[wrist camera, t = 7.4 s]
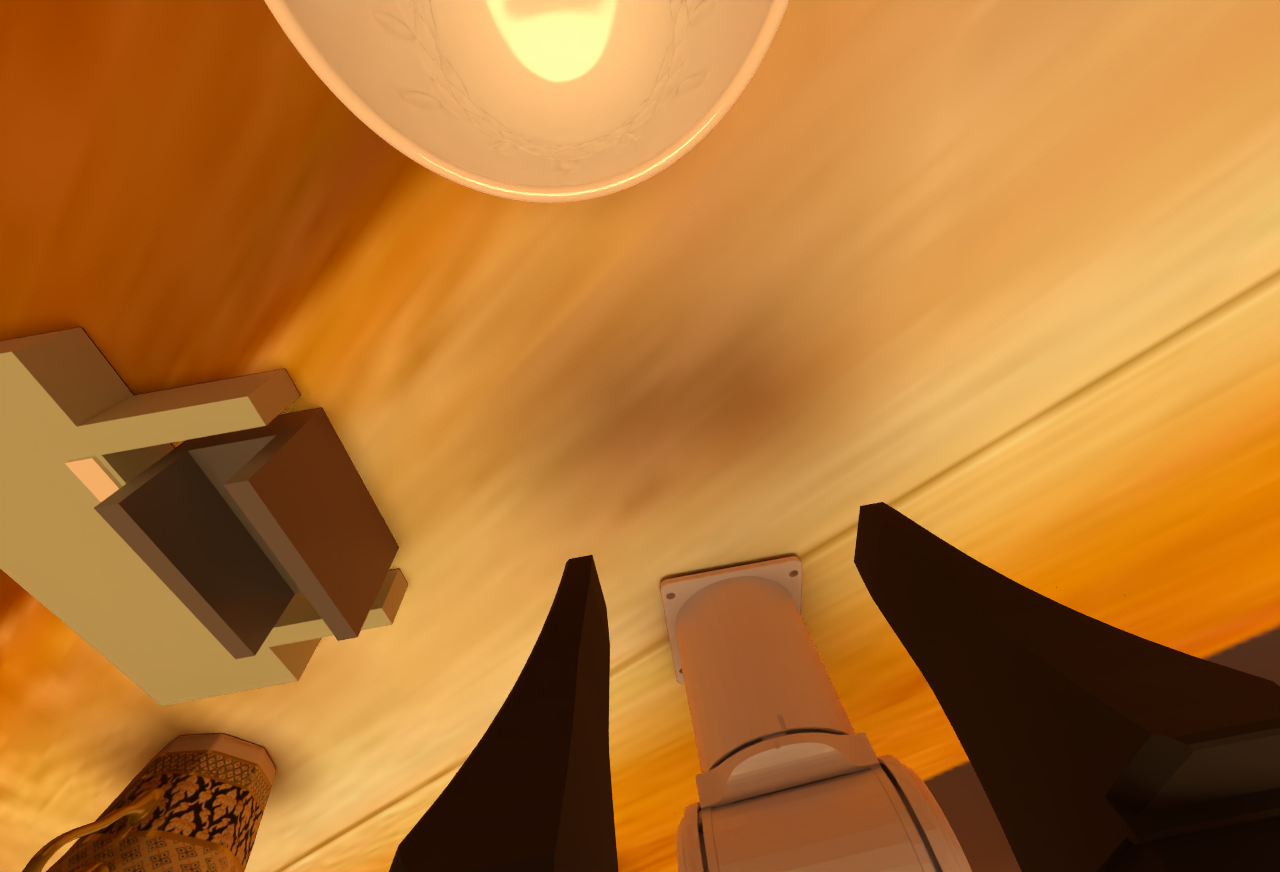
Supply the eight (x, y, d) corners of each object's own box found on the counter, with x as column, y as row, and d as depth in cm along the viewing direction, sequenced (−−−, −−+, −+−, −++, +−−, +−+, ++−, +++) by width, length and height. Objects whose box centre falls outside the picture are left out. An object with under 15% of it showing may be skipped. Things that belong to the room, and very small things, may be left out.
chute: (400, 544, 24) (357, 637, 20) (301, 562, 24) (235, 659, 20) (324, 405, 20) (247, 480, 16) (205, 426, 20) (93, 508, 16)
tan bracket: (427, 619, 27) (413, 662, 25) (195, 661, 27) (159, 709, 25) (245, 298, 18) (195, 320, 15) (-113, 360, 18) (-216, 392, 15)
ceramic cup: (321, 792, 35) (235, 1003, 26) (166, 804, 34) (23, 1028, 25) (263, 682, 28) (125, 913, 20) (69, 691, 27) (-169, 943, 19)
